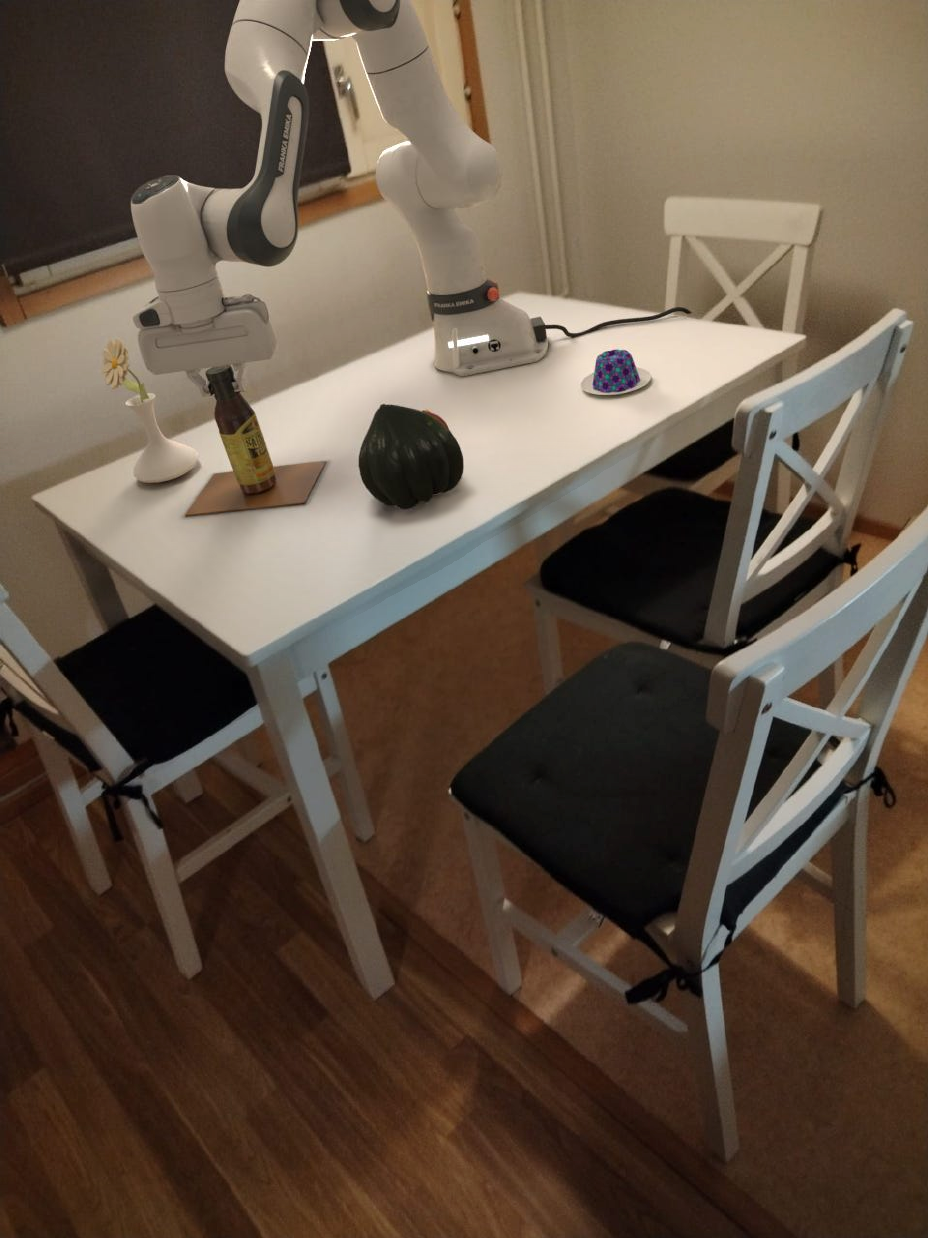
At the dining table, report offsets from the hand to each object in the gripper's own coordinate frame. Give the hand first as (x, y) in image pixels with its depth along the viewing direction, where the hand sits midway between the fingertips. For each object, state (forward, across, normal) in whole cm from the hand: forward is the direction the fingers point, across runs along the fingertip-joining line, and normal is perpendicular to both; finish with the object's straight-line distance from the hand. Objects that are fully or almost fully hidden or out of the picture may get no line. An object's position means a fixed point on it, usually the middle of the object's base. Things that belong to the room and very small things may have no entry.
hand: (225, 393), depth 141 cm
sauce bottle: (+16, 0, 0) cm, 16 cm away
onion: (+17, -29, -5) cm, 34 cm away
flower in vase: (+17, +19, -9) cm, 27 cm away
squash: (+17, -28, +8) cm, 34 cm away
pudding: (+17, -58, -25) cm, 65 cm away
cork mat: (+16, 0, 0) cm, 16 cm away
